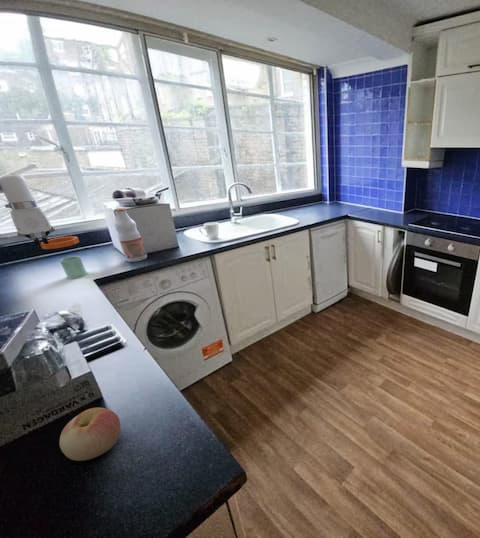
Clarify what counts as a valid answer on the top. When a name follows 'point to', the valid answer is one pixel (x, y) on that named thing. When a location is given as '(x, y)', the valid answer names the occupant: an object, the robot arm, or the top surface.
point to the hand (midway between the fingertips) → (43, 246)
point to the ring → (60, 242)
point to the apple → (90, 434)
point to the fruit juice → (129, 236)
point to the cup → (73, 267)
